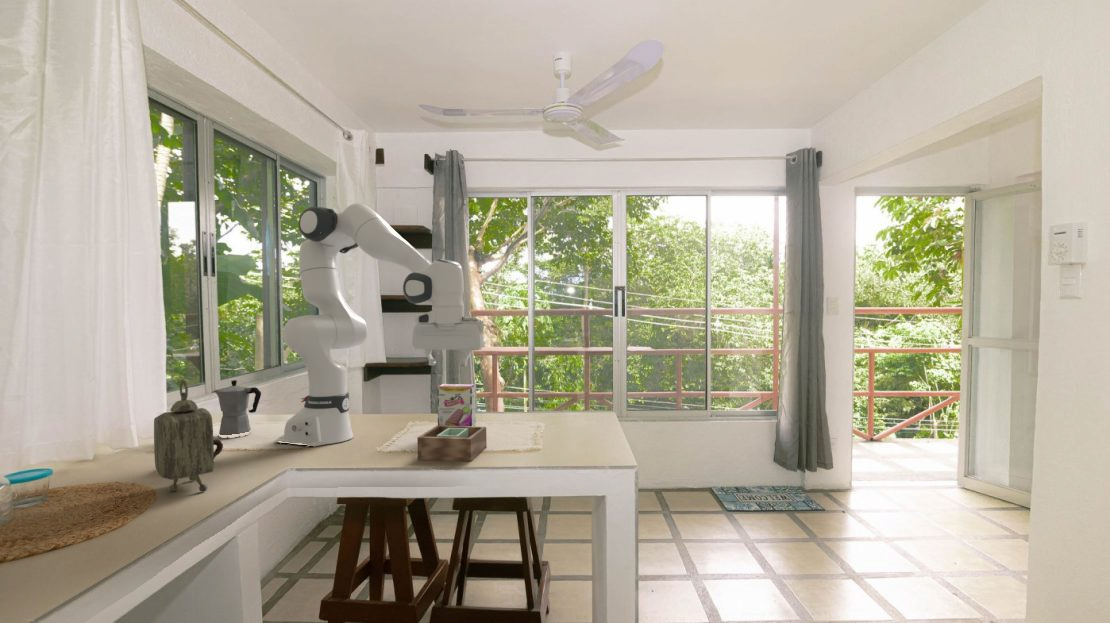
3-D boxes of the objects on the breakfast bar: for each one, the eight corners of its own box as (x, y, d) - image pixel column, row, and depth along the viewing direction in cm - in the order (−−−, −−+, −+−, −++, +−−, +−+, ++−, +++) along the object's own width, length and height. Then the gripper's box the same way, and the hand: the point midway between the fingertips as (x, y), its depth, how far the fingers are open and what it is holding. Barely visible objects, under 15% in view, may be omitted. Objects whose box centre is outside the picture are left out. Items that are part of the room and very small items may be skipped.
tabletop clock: (214, 491, 120) (212, 381, 119) (165, 502, 113) (162, 386, 113) (200, 477, 130) (198, 375, 130) (154, 486, 124) (151, 379, 123)
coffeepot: (205, 439, 168) (204, 382, 168) (225, 431, 177) (223, 378, 177) (252, 439, 167) (251, 382, 167) (270, 431, 177) (268, 378, 176)
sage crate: (436, 453, 144) (436, 435, 144) (448, 445, 153) (448, 427, 153) (457, 454, 143) (457, 436, 143) (468, 445, 152) (468, 428, 152)
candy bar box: (437, 438, 165) (436, 386, 165) (442, 434, 170) (441, 383, 170) (472, 439, 164) (471, 386, 164) (476, 435, 169) (475, 383, 169)
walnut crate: (417, 459, 143) (417, 437, 143) (437, 445, 157) (437, 425, 157) (471, 461, 140) (470, 439, 140) (486, 447, 154) (486, 426, 154)
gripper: (486, 316, 151) (486, 365, 151) (419, 316, 154) (419, 363, 155) (479, 317, 145) (479, 368, 145) (409, 316, 148) (409, 366, 149)
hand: (448, 365), depth 150 cm, fingers open, 8 cm apart
